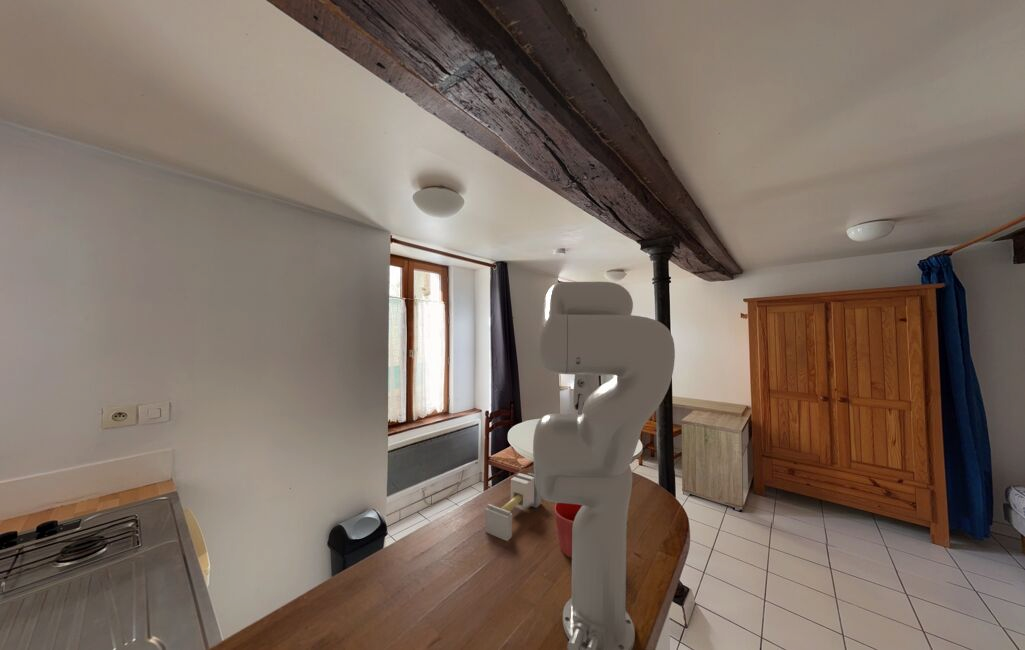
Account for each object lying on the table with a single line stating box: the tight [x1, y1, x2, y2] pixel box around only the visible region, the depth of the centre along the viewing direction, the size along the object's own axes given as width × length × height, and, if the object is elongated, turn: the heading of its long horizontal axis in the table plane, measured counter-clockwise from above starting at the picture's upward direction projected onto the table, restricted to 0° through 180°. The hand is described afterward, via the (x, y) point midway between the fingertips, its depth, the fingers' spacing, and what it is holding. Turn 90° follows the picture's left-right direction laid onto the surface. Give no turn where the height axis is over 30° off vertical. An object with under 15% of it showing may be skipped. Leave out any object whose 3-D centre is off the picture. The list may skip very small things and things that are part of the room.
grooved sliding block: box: [509, 472, 534, 512], centre depth 94 cm, size 5×5×8 cm
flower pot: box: [553, 502, 583, 559], centre depth 79 cm, size 11×11×10 cm
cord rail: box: [485, 472, 542, 542], centre depth 92 cm, size 21×7×9 cm, turn 148°
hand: (585, 434), depth 85 cm, fingers closed
